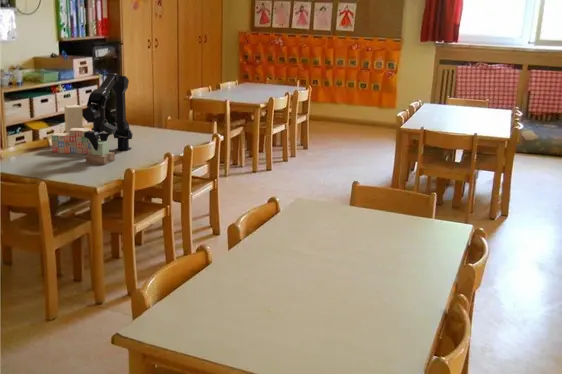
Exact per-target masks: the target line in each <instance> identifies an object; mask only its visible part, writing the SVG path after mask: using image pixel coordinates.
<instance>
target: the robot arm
mask: <svg viewBox="0 0 562 374" xmlns="http://www.w3.org/2000/svg"><path fill="white" fill-rule="evenodd" d="M129 83H130V82H129V78H128V77H127V76H125V75H119V74H118V73H112V72H110V73H107V74H106V78H105V79H104V80H103V81H102V83H101V85H99V87H98V88H95V89H93V90H92V91H91V92H90V94H89V95H88V96H89V97H88V100H87V103H86V110H84V111H83V112H82V118H83V119H84V120H85V121H86V122H91V123H92V126H93V127H91V129H92V130H93V131H87V132H85V133H84V138H88V139H89V141H90V142H91V144H92V146H93V147H94V149H95V150H96V151H97V150H98V140H102V141H108V139H109V137H110V136H111V135H113V139H117V147H116V148H114V149H115V150H116V151H124V152H127V151H129V150H132V147H130V140H132V139H133V132H132V130H131V129H130V124H129V122H128V120H127V118H126V117H127V114H126V92H127V90H128V89H129ZM111 90H113V92H114V93H115V95H114V96H115V122H113V123H109V122H108V120H107V119H106V107H107V105H106V103H107V101H108V99H109V98H108V94H109V92H110V91H111Z"/></svg>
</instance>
